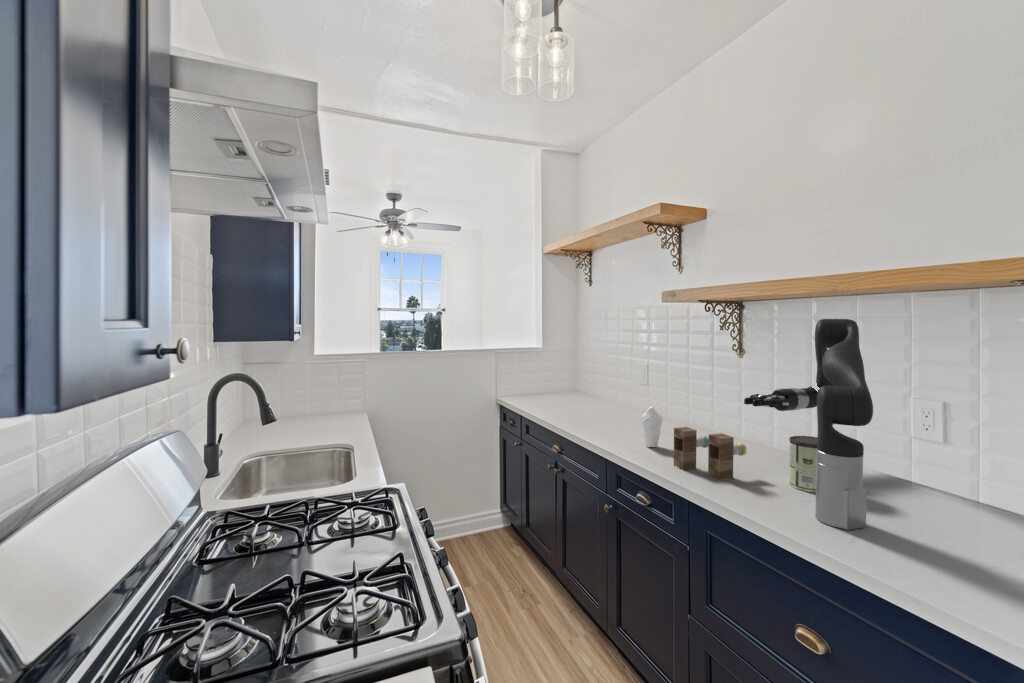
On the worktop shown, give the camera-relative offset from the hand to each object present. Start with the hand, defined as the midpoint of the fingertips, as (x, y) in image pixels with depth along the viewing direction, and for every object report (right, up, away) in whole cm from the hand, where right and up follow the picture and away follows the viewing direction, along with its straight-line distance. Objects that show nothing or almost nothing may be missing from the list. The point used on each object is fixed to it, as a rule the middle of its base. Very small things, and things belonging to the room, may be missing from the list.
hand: (749, 402), depth 151 cm
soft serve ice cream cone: (-25, -21, +26) cm, 42 cm away
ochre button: (-9, -16, -7) cm, 20 cm away
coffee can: (+8, -23, -17) cm, 30 cm away
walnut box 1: (-21, -22, +1) cm, 31 cm away
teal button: (-17, -16, +2) cm, 23 cm away
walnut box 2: (-13, -22, -8) cm, 27 cm away
